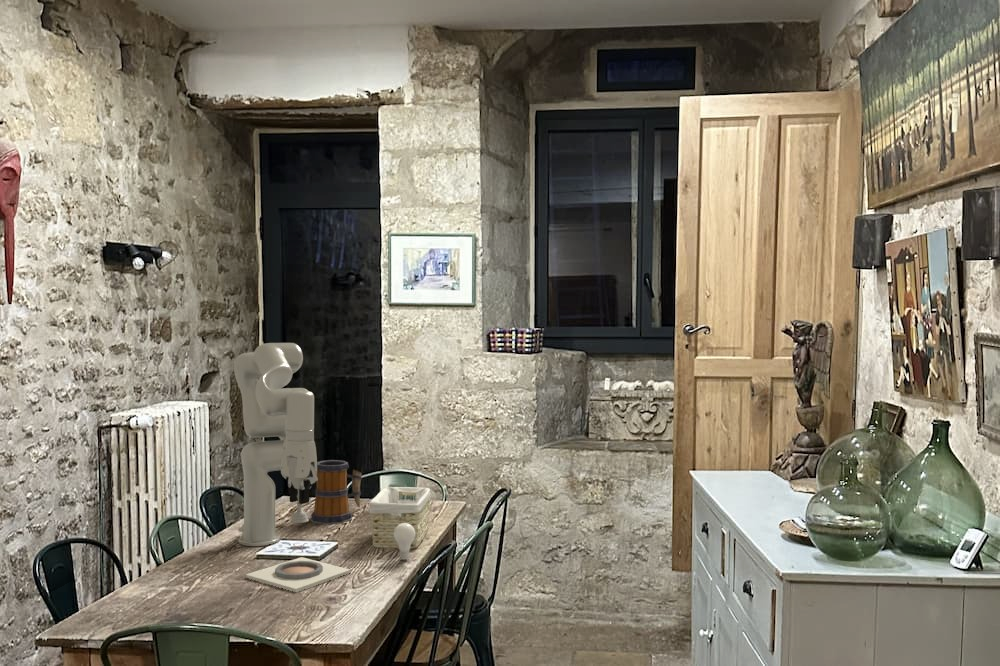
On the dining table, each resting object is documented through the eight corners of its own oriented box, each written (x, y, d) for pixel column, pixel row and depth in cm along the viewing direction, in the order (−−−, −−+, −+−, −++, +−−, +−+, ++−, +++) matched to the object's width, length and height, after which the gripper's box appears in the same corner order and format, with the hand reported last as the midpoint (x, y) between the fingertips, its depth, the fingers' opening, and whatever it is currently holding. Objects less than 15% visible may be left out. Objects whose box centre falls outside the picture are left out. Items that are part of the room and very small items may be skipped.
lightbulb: (393, 557, 245) (394, 520, 244) (415, 557, 245) (415, 520, 245) (392, 563, 238) (393, 526, 238) (414, 563, 239) (415, 525, 239)
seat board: (245, 578, 224) (245, 570, 224) (301, 560, 240) (301, 553, 240) (296, 592, 213) (296, 584, 213) (351, 573, 229) (351, 565, 229)
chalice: (305, 524, 222) (305, 458, 222) (282, 523, 223) (281, 457, 223) (316, 518, 229) (316, 453, 229) (294, 516, 230) (293, 453, 230)
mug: (349, 510, 303) (350, 456, 302) (371, 517, 292) (372, 461, 292) (302, 518, 290) (303, 462, 289) (323, 526, 279) (324, 468, 279)
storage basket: (418, 551, 252) (419, 503, 252) (366, 549, 253) (367, 501, 253) (431, 530, 276) (432, 487, 275) (384, 529, 277) (384, 485, 277)
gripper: (269, 434, 227) (268, 500, 228) (310, 440, 218) (309, 509, 218) (290, 431, 233) (289, 496, 234) (331, 437, 224) (330, 504, 225)
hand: (299, 501), depth 226 cm, fingers closed on chalice, 3 cm apart
